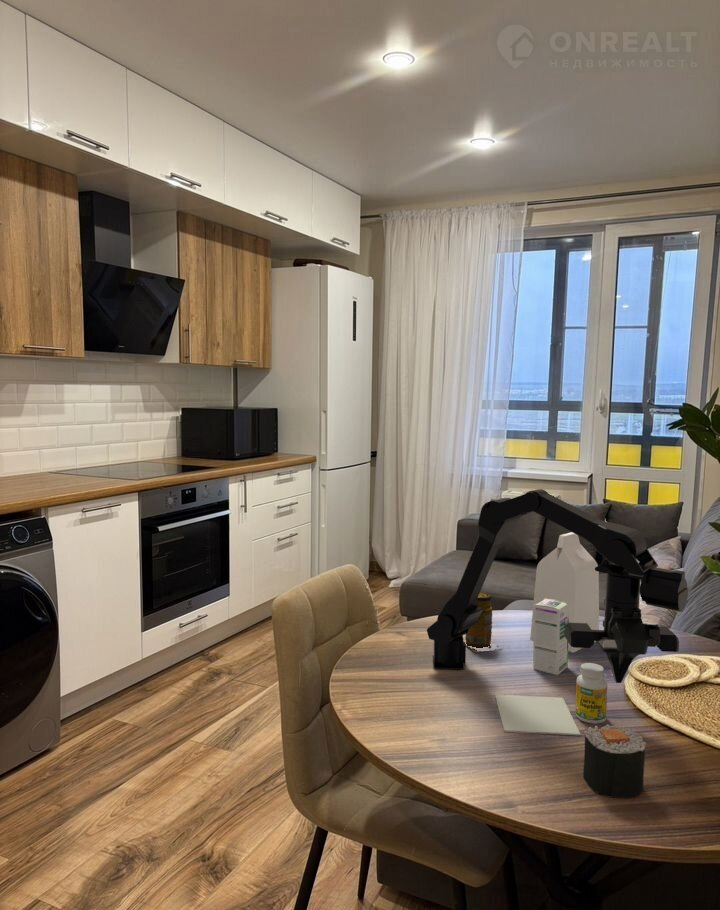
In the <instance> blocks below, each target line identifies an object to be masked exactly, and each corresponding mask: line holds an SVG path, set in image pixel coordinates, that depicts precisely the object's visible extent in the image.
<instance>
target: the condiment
mask: <svg viewBox="0 0 720 910" xmlns="http://www.w3.org/2000/svg"><path fill="white" fill-rule="evenodd" d="M491 599H492V597H491V594H490V593H486V592H481V591H480V593H479V596H478V599H477V602H478V607H480V608H482V609H483V611H482V613H481V614H480V616H479V619H478V624H476V625H474V626H472V627H471V628H470V629H469V631H468V634H465V636H464V637H465V639H464V638H463V641H464V640H466V644H467V646H466V648H467V649H469V650H470V651H472V652H474V653H482V652H481V651H479V652H477V650H475V649H471V648H470V647H468V646H472V647H476V648H483V647H488V646H490V644H491V642H492V632H493V631H492V628H493V626H492V624H493V607H492V606H491V605H492V602H491ZM497 646H498V645H497ZM497 646H496V647H497Z"/></svg>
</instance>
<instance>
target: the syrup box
mask: <svg viewBox="0 0 720 910" xmlns="http://www.w3.org/2000/svg"><path fill="white" fill-rule="evenodd" d="M568 623H569V603H566V602H563V601H559V600H553V599H544V600H543V601H541V602H539V603H537V604H536V605H534V640H533V651H532V652H533V660H532V661H533V663H532V668H533V669H534V670H535V671H536V670H537V671H540V672H542V673H547V674H550V675H555V676H559V675H560V674H561V673H562V672H563V671H564V670H566V669H567V668H568V667H569V651H568V641H567V639H566V638H565V626H566V625H567V624H568Z"/></svg>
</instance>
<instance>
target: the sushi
mask: <svg viewBox="0 0 720 910" xmlns="http://www.w3.org/2000/svg"><path fill="white" fill-rule="evenodd" d="M583 734H584V760H583V772H582V774H583V776H582V777H583V780H584V781H585V782H586V784H587V786H588V787H590V789H592V791H594V792H596V793H597V794H600V795H603V796H605V797H610V798H618V799H619V798H621V799H622V798H623V799H634V798H635V799H636V798H638V797H640V796H641V795H642V794H643V792H644V774H645V758H646V757H645V755H646V745H647V742H645V741H644V740H643V736H641V735H640V736H639V735H638V732H635V730H631V728H628V727H625V728H624V727H623V726H622V725H619V726H618V725H616V724H615V725H609V724H606V725H604V726H601V727H600V728H599V727H598V725H596V724H595V726H594V728H593V727H591V726H589V727H588V728H587V730H584V732H583Z"/></svg>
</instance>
